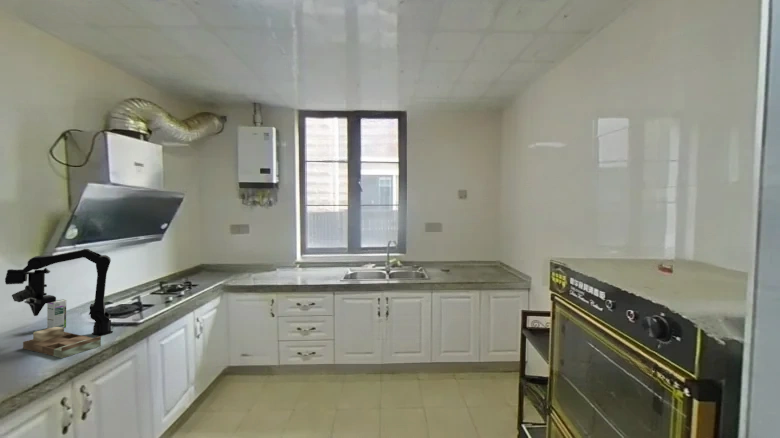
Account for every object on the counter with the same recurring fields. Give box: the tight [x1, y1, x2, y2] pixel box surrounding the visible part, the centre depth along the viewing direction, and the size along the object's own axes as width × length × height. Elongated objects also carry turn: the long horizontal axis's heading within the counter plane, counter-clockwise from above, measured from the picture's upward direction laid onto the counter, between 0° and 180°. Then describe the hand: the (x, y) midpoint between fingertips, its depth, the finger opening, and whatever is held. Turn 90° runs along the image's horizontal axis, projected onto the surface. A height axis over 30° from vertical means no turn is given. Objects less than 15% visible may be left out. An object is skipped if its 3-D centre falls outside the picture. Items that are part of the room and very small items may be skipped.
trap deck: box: [22, 331, 102, 359], centre depth 177 cm, size 16×26×4 cm, turn 72°
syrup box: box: [46, 298, 67, 329], centre depth 202 cm, size 6×6×14 cm
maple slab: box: [32, 327, 65, 342], centre depth 180 cm, size 10×5×4 cm, turn 162°
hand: (35, 315), depth 183 cm, fingers closed
